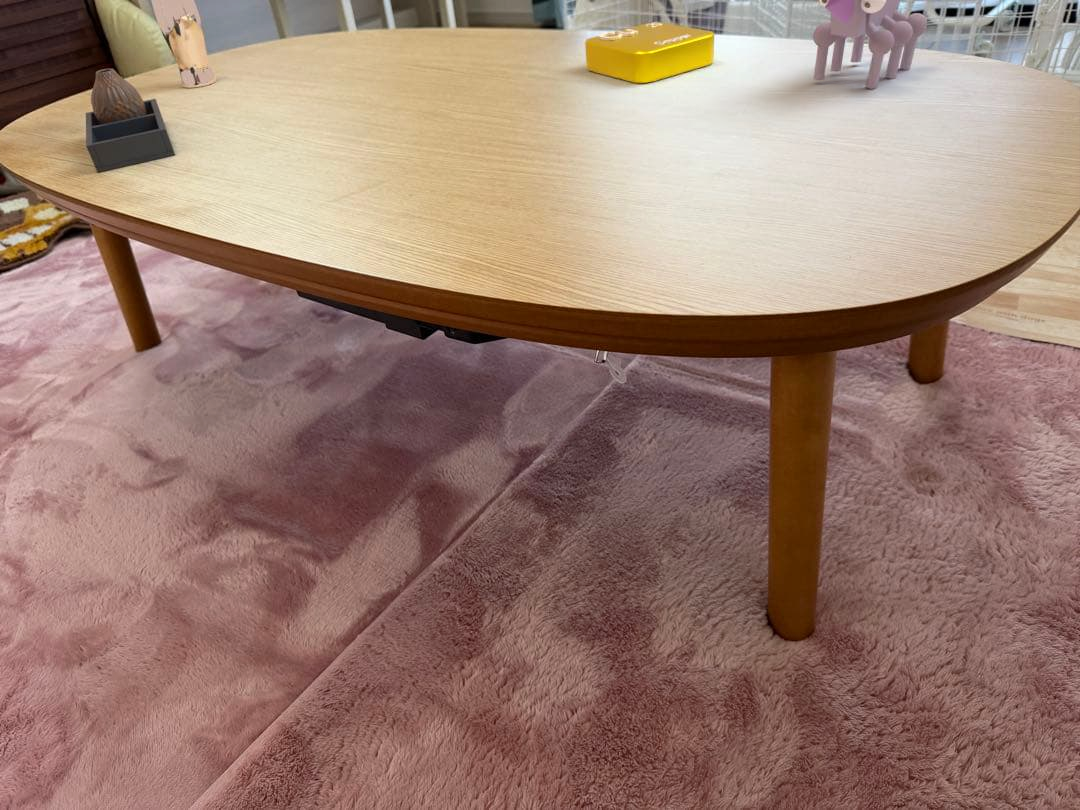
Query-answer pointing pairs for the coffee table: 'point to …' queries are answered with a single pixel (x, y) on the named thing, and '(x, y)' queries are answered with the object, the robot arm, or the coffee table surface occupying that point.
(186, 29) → the beer glass
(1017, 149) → the coffee table surface
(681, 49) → the element tile
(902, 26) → the pink figurine
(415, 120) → the coffee table surface
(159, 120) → the holder
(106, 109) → the vase
